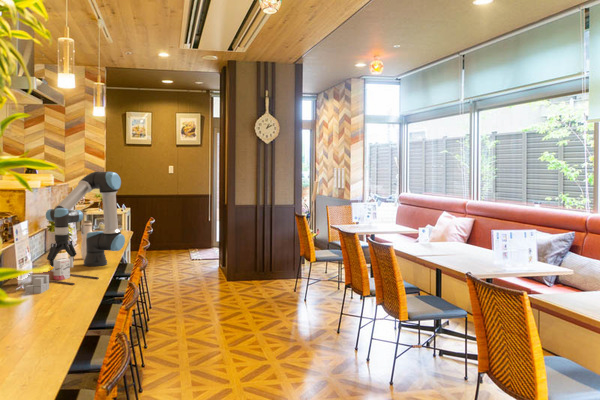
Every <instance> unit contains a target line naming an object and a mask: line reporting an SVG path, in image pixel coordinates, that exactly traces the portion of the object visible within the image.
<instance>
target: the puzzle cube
mask: <svg viewBox="0 0 600 400" xmlns="http://www.w3.org/2000/svg"><path fill="white" fill-rule="evenodd" d="M30 277H31V278H30V279H31V281H26V282H24V283H22V284H23V290H24V289H25V290H24V291H25V292H24V293H29V294H31V295H32V294H36V295H37V294H43V293H44V292H46V291H48V290H49V289H50V282H49V275H40V274H32V275H31V276H30Z"/></svg>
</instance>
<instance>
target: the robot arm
mask: <svg viewBox="0 0 600 400" xmlns="http://www.w3.org/2000/svg"><path fill="white" fill-rule="evenodd" d="M121 179H122V178H121V177H120V176H119V174H118V173H117V172H113V171H94V172H90V173H88V174H86V175H85V176H84V177H82V178H81V180H79V181H78V184H77V185H76V187H74V189H73V190H71V191H70V193H68V194H67V196H65V198H63V199H62V200H61V201H60V203H59V204H57V205H56V207H54V208H52V209H47V210H46V212H45V219H46V221H49V222H54V241H55V243H51V244H50V249H49V251H48V255H47V257H46V260H48V261H49V266H50V265H51V266H52V267H54V268H53V269H52V270H51V271H53V272H55V260H56V257H57V256H58V254H59V252H60V251H62V250H64V251H65V252H67V253H66V254H68V255H69V256H68V259H70V268H74V262H75V261H74V260H75V259H74V258H75V257H76V256H77V251H76V249H75V246H74V244H73V241H72V240H69V232H70V231H69V224H73V223H80V222H82V221H83V219H84V213H83V212H82V211H81V210H80V209H73V208H74V207H75V206H76V205H77V204H78V203H79V202H80V201H81V200H82V199H83V197H85V196H86V195H87V194H89V193H91V192H92V191H93V190H96V189H97V190H99V193H100V194H101V196H102V199H101V200H102V210H103V223H104V230H98V231H97V230H95V231H92V232H89V233H87V237H86V257H85V260H83V266H84V267H102V266H106V265H108V260H107V257H106V253H105V251H109V252H110V251H111V252H118V251H121V250H122V249H123V248H124V246H125V243H126V238H125V235H124V234H122V231H121V229H120V228H119V223H118V210H117V209H118V208H117V207H118V206H117V195H116V194H117V193H118V192H119V191H118V190H119V189H120V188H121V185H122V180H121ZM51 266H50V267H51Z"/></svg>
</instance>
